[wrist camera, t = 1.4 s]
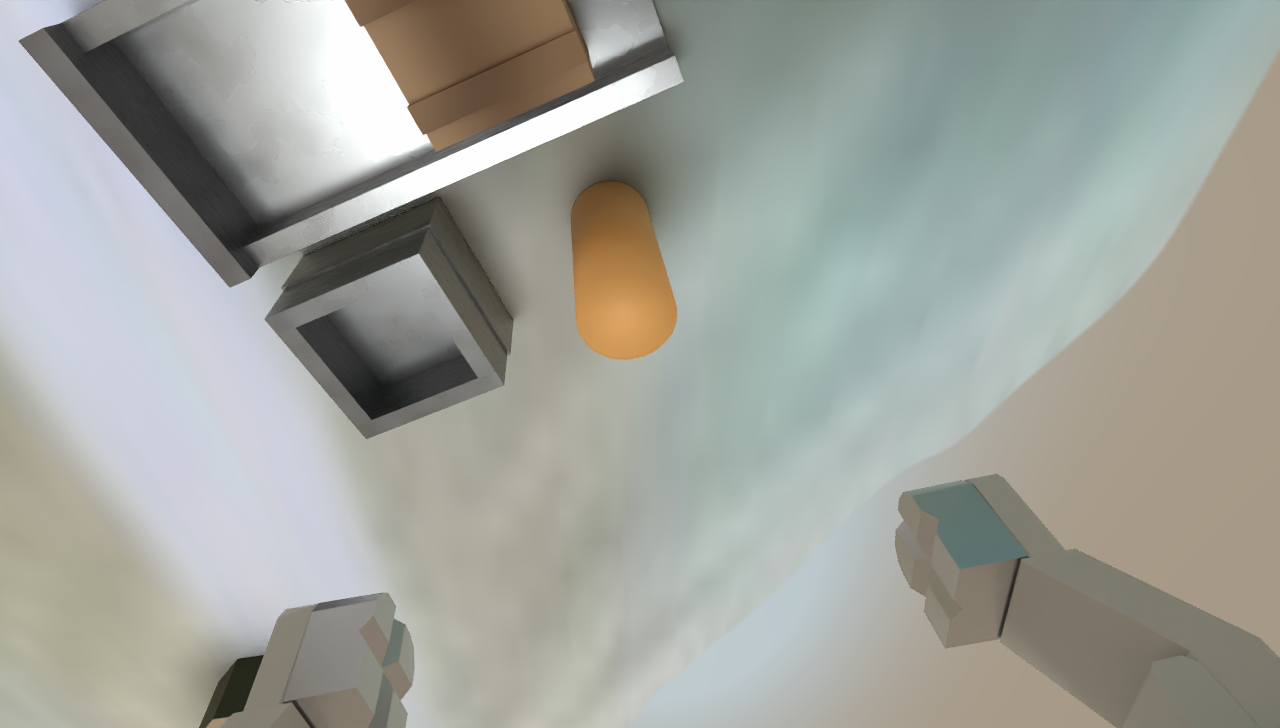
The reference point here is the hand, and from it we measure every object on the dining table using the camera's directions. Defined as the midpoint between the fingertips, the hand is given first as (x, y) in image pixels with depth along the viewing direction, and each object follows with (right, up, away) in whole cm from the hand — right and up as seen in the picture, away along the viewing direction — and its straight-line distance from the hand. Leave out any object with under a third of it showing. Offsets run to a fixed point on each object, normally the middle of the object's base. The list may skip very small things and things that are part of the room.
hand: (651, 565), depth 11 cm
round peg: (-2, +10, +21) cm, 23 cm away
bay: (-10, +16, +16) cm, 24 cm away
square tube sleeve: (-11, +7, +22) cm, 26 cm away
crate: (-6, +17, +15) cm, 23 cm away
